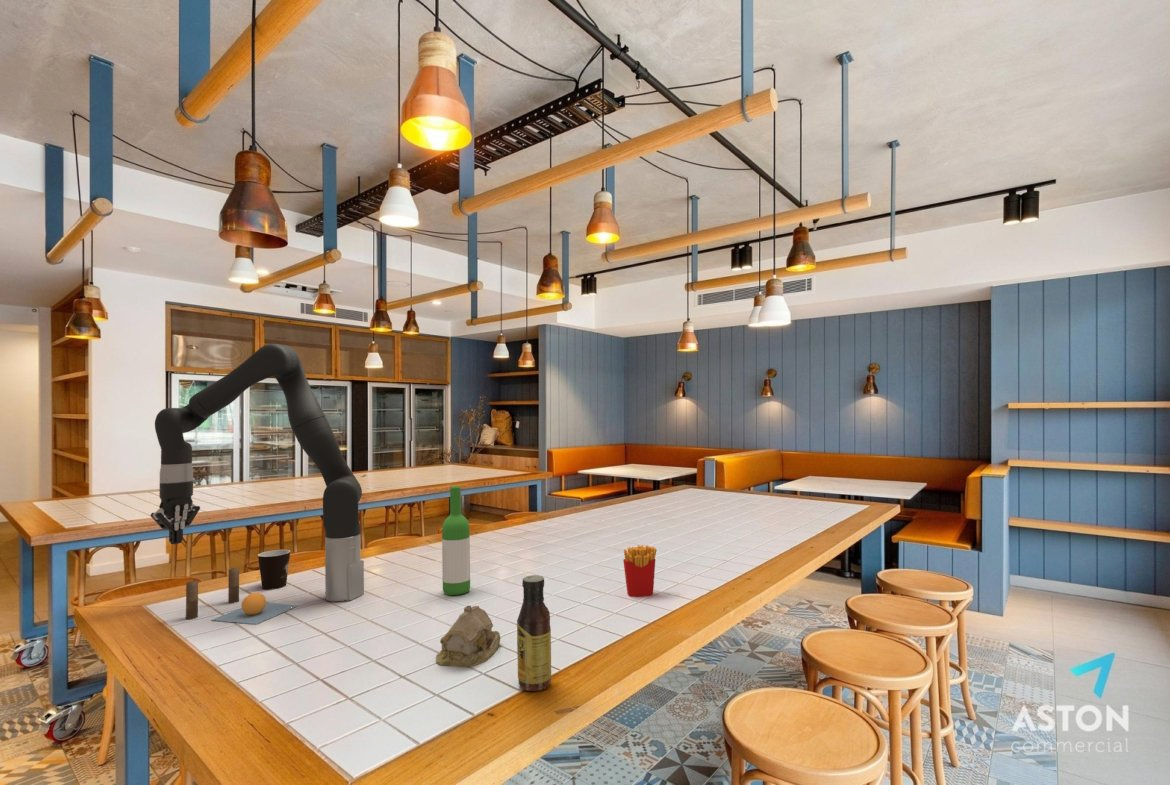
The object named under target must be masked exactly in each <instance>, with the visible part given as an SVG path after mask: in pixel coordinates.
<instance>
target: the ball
mask: <svg viewBox="0 0 1170 785" xmlns="http://www.w3.org/2000/svg"><path fill="white" fill-rule="evenodd" d="M266 602H267V599H266V596H264V594H263V593H259V592H252V593H249V594H248V595H247V596H245V597H244V598H243V599H242V602H241V608H242V610H243V612H244V613H246V614H248V615H256V614H259V613H260V612H261V611H262V610H263V609H264V608H265V606H266Z"/></svg>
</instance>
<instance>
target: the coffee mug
mask: <svg viewBox="0 0 1170 785" xmlns="http://www.w3.org/2000/svg"><path fill="white" fill-rule="evenodd" d="M290 557H291V550H290V549H275V550H268V551H264V552H263V551H262V552H261V553H258V554H257V559H258V566H259V574H260V580H261V588H262V590H267V591H268V590H278V589H281V588H283V587H287V580H288V572H289V564H290V559H291V558H290Z"/></svg>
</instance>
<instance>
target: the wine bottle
mask: <svg viewBox="0 0 1170 785" xmlns="http://www.w3.org/2000/svg"><path fill="white" fill-rule="evenodd" d="M461 491H462V490H461V486H459V485H454V486H453V485H452V486H450V488H449V505H450V506H449V508H450V509H449V510H450V511H449V516H448V517H447V518H445V520H444V521H443V523H442V527H441V547H442V548H441V549H442V551H441V552H442V553H441V558H442V559H441V560H442V561H441V562H442V565H441V566H442V567H441V568H442V570H441V571H442V577H441V578H442V591H443V593H444V594H445V595H447V596H461V595H464V594H466V593H467V594H468V592H469V591H470V589H471V538H470V537H471V535H470V533H471V532H470V523H469V521H468V519H467V518H466V517H465V516H464V515H463V514H462V501H461V500H462V498H461V497H462V494H461Z"/></svg>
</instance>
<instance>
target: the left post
mask: <svg viewBox="0 0 1170 785" xmlns="http://www.w3.org/2000/svg"><path fill="white" fill-rule="evenodd" d="M185 587H186V588H185V590H186V591H185V619H186V620H193V619H192V618H194V619H197V618H199V615H198V614H199V580H190V581H187V582H186V584H185ZM196 617H197V618H196Z"/></svg>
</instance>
